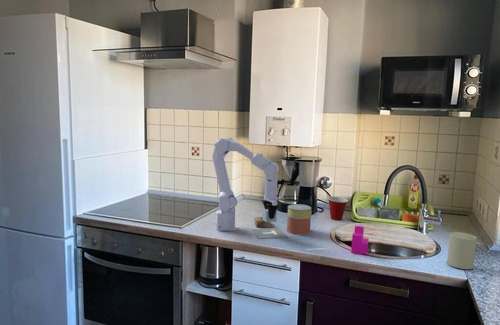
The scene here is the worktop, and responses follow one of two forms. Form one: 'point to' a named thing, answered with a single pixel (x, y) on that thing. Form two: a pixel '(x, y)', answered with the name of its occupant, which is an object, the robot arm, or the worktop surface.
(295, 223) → the canned food
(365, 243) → the toy block
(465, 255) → the can
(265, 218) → the grey cube
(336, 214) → the plastic cup
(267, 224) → the walnut slab
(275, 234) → the light gray board
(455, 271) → the worktop surface
